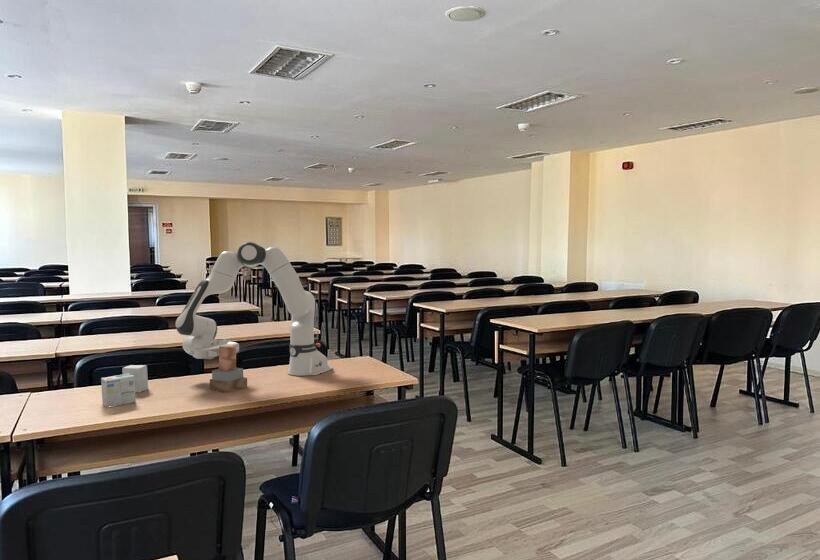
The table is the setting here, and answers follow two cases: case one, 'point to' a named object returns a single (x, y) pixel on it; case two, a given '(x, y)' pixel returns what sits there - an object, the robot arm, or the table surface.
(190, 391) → the table surface
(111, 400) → the light bulb box
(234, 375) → the grey top block
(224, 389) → the walnut base block
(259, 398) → the table surface
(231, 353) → the terracotta block
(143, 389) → the small box
